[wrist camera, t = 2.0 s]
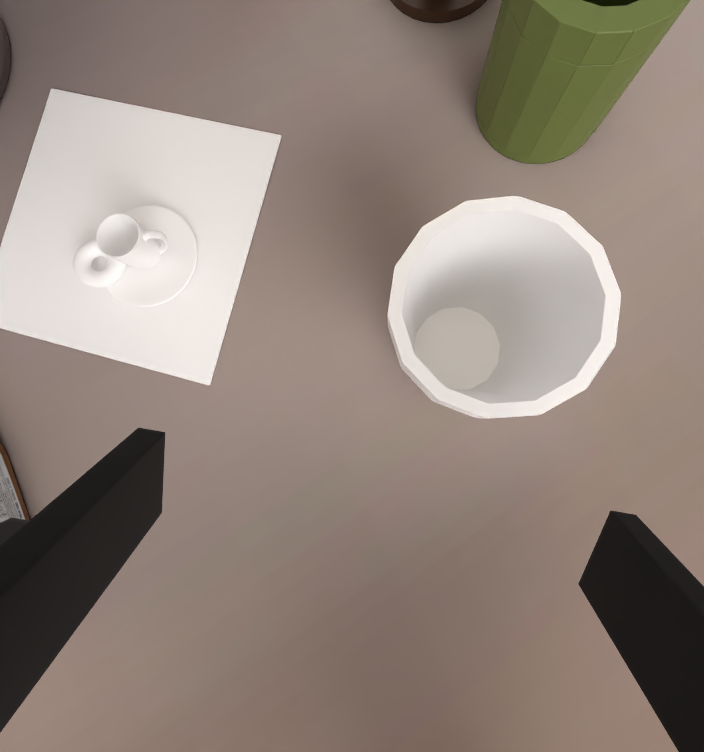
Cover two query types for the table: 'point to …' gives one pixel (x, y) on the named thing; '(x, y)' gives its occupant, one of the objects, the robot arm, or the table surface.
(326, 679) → the table surface
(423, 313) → the foam cup
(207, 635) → the table surface
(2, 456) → the tin
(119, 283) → the teacup and saucer
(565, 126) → the thick-walled green cup
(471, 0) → the candlestick
